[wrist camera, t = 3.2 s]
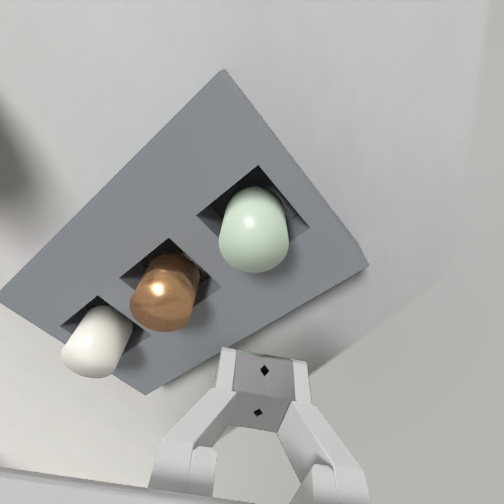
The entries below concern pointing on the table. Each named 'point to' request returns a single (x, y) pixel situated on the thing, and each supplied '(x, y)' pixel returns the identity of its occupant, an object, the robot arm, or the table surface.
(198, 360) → the grey socket tray
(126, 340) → the ivory key
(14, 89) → the table surface
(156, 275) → the brown rounded piece
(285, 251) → the sage key
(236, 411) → the robot arm
